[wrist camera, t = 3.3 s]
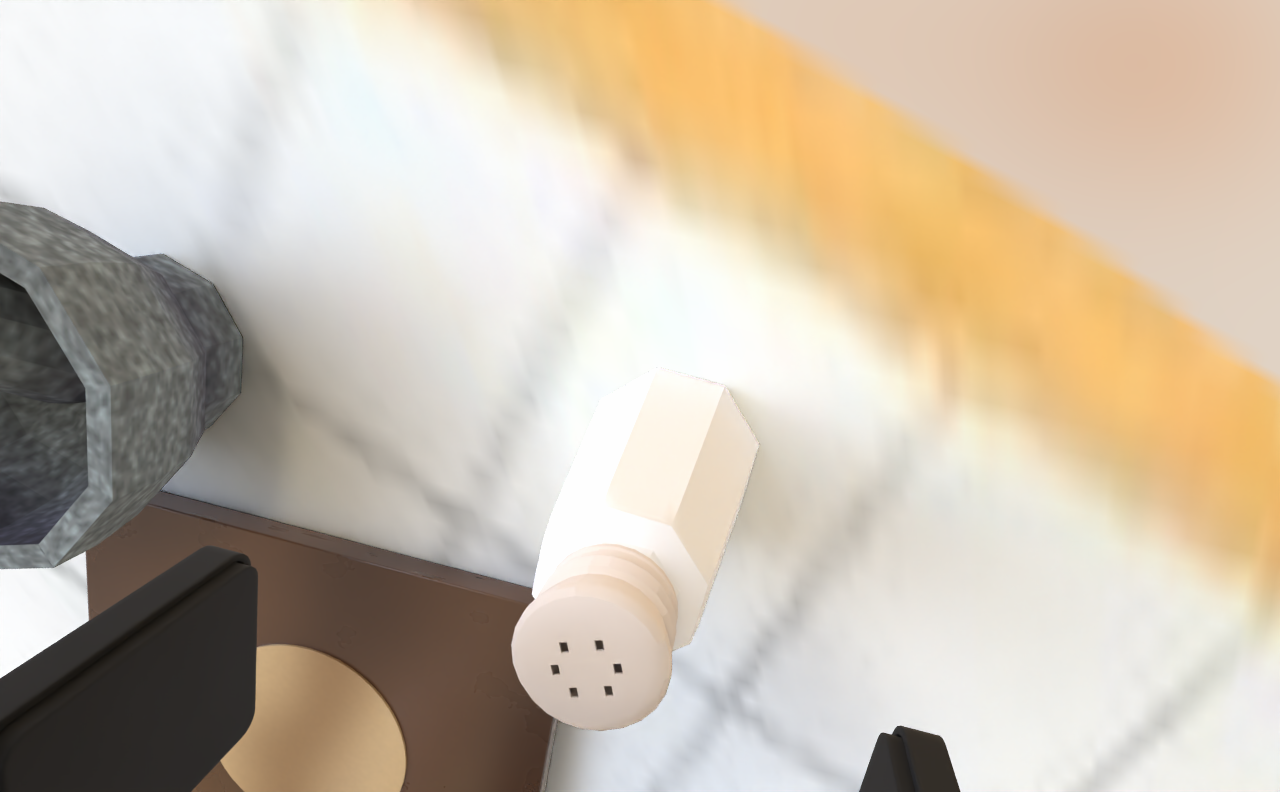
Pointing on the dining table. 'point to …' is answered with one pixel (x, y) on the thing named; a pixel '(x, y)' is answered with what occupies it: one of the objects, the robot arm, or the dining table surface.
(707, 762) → the dining table surface
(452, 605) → the board
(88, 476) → the mortar and pestle
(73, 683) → the robot arm
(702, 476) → the pepper shaker
